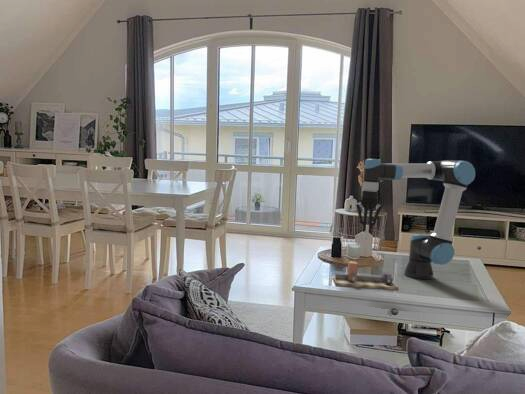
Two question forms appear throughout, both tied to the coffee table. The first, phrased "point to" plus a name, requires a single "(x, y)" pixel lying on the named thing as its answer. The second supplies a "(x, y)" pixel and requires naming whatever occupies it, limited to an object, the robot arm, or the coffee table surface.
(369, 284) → the bolt board
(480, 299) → the coffee table surface
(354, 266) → the sliding head
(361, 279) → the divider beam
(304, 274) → the coffee table surface
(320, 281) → the coffee table surface
